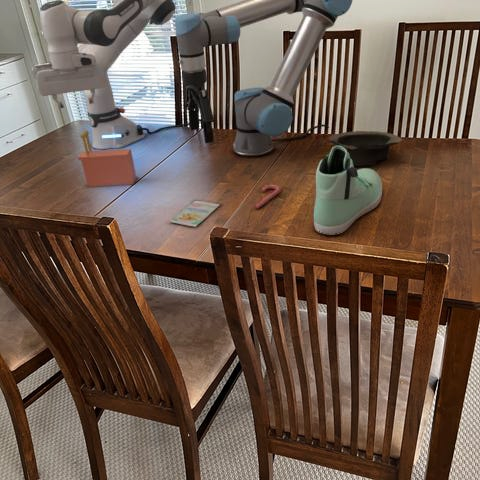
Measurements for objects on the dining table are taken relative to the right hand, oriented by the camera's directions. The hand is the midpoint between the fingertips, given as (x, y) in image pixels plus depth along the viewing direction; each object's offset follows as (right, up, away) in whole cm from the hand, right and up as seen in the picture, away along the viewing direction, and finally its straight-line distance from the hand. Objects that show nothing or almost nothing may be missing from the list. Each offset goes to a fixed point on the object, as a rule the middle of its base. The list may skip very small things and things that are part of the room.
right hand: (201, 135), depth 159 cm
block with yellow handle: (-33, -6, +3) cm, 34 cm away
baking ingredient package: (-1, -27, -16) cm, 31 cm away
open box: (-32, -14, +9) cm, 36 cm away
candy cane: (+21, -22, -11) cm, 32 cm away
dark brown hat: (+56, -5, +12) cm, 58 cm away
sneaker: (+44, -25, -20) cm, 55 cm away
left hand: (-40, +9, -5) cm, 41 cm away
